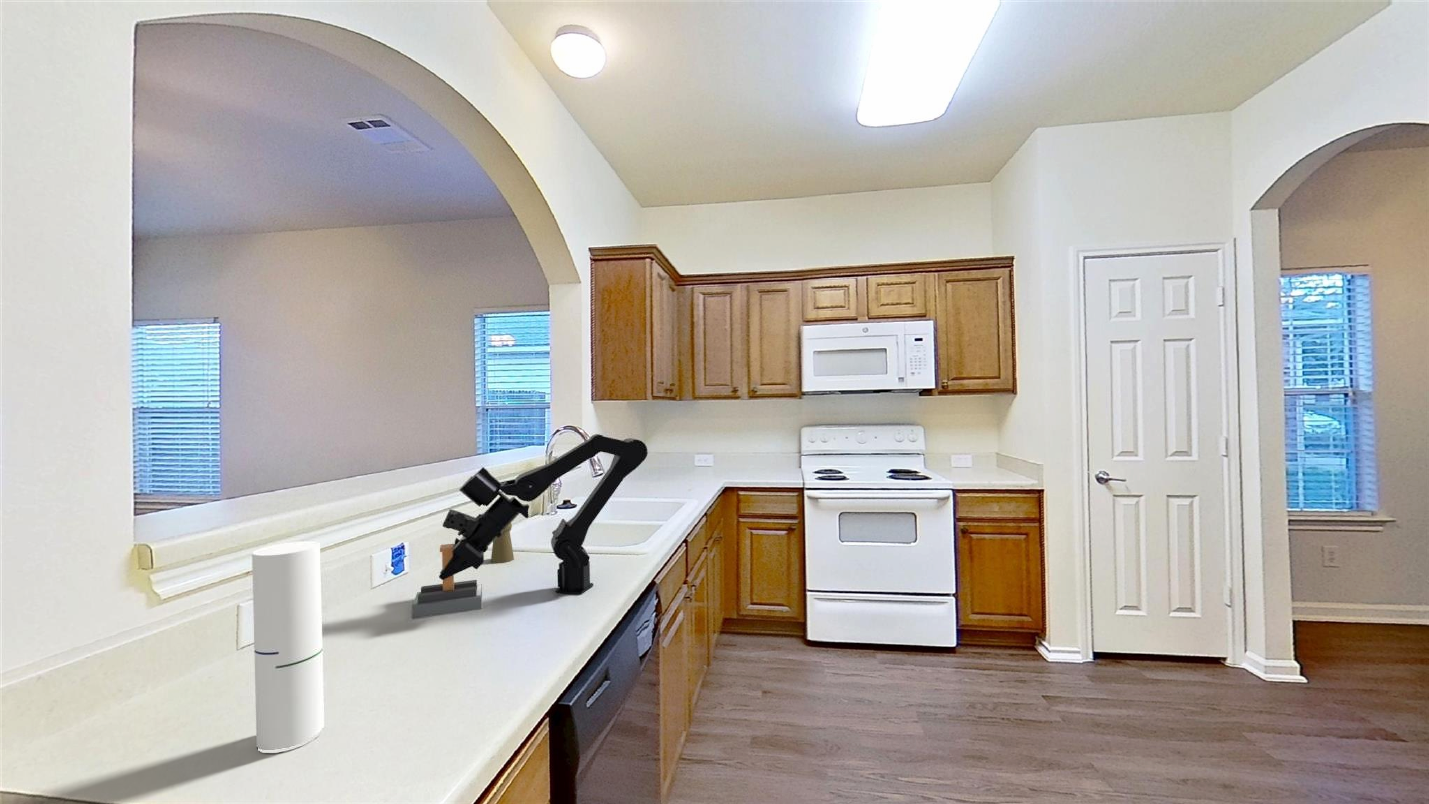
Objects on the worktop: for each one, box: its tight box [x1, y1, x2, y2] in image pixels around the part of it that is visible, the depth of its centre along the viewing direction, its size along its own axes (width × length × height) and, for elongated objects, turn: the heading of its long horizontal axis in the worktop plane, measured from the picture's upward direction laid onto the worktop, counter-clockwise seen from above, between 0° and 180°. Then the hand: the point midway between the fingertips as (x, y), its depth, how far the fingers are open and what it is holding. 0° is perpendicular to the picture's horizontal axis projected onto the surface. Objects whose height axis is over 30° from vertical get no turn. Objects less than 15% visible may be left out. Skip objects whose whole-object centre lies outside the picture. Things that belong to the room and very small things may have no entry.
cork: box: [490, 522, 515, 564], centre depth 158 cm, size 6×6×11 cm
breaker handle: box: [439, 543, 455, 591], centre depth 123 cm, size 3×3×10 cm
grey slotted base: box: [411, 579, 483, 619], centre depth 123 cm, size 13×9×4 cm
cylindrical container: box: [251, 540, 325, 750], centre depth 75 cm, size 7×7×25 cm
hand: (441, 576), depth 122 cm, fingers closed on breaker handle, 2 cm apart
